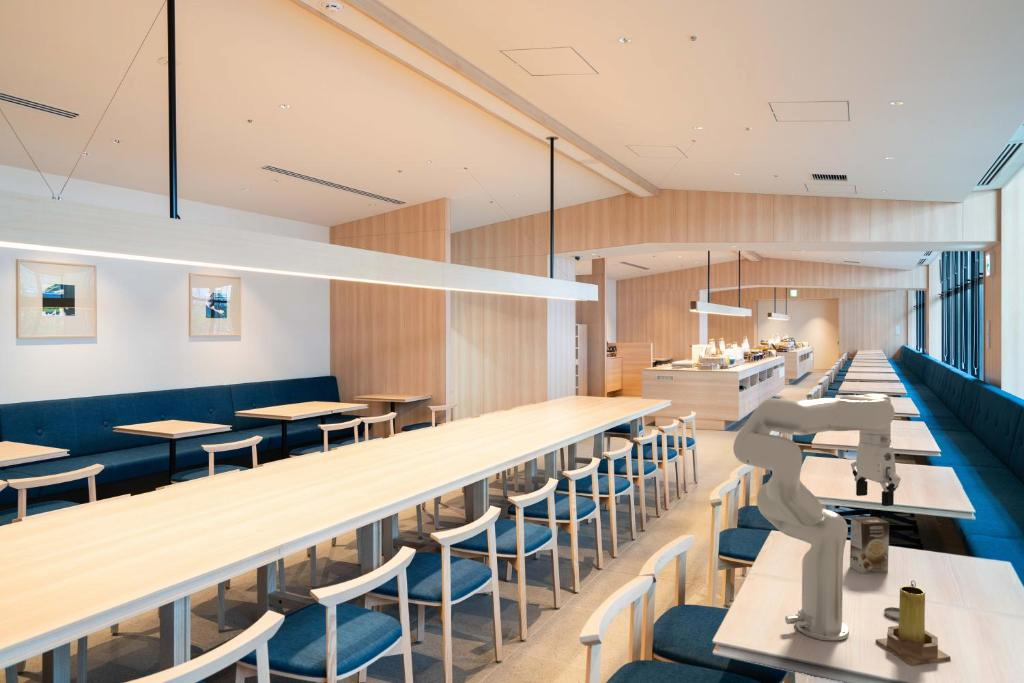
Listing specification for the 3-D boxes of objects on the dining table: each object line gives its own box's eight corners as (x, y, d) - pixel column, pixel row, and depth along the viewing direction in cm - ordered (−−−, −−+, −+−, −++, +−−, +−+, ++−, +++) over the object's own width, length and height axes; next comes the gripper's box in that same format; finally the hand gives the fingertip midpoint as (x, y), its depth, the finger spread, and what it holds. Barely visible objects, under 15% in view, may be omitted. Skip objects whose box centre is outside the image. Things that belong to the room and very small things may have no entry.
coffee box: (862, 574, 206) (863, 523, 206) (849, 566, 213) (849, 517, 212) (889, 572, 208) (889, 522, 207) (875, 564, 214) (875, 515, 213)
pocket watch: (878, 613, 180) (879, 577, 179) (899, 607, 183) (900, 572, 183) (906, 626, 172) (907, 589, 172) (928, 620, 176) (928, 583, 175)
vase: (928, 647, 160) (929, 589, 160) (923, 656, 156) (924, 597, 155) (900, 638, 165) (901, 582, 164) (894, 648, 160) (894, 590, 159)
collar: (911, 665, 154) (911, 649, 153) (875, 642, 164) (875, 627, 164) (950, 659, 156) (950, 644, 156) (912, 637, 167) (913, 622, 166)
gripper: (911, 444, 173) (910, 508, 174) (864, 432, 190) (863, 490, 191) (886, 446, 172) (885, 510, 173) (841, 434, 189) (840, 492, 190)
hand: (874, 500), depth 182 cm, fingers open, 9 cm apart
